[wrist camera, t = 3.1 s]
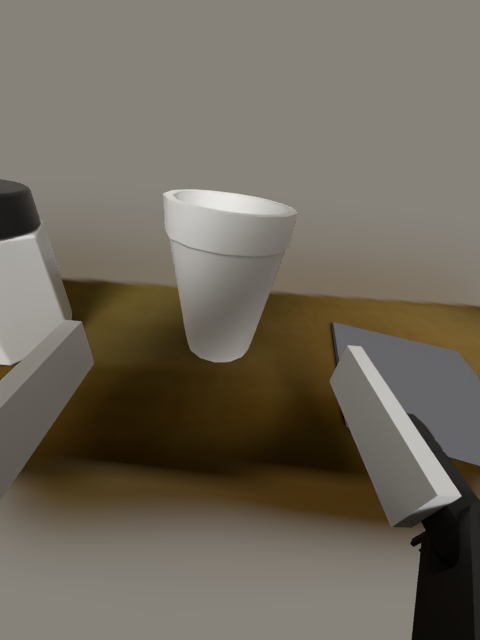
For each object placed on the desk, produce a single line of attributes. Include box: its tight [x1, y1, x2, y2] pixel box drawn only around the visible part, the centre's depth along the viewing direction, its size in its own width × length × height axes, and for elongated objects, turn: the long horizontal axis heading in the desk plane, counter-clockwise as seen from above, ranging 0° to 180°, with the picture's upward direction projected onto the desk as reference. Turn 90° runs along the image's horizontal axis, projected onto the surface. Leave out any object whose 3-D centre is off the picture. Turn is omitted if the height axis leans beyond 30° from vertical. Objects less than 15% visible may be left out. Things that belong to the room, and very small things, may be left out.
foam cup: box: [163, 189, 298, 362], centre depth 21 cm, size 10×9×13 cm
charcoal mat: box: [332, 322, 480, 466], centre depth 22 cm, size 14×14×1 cm
